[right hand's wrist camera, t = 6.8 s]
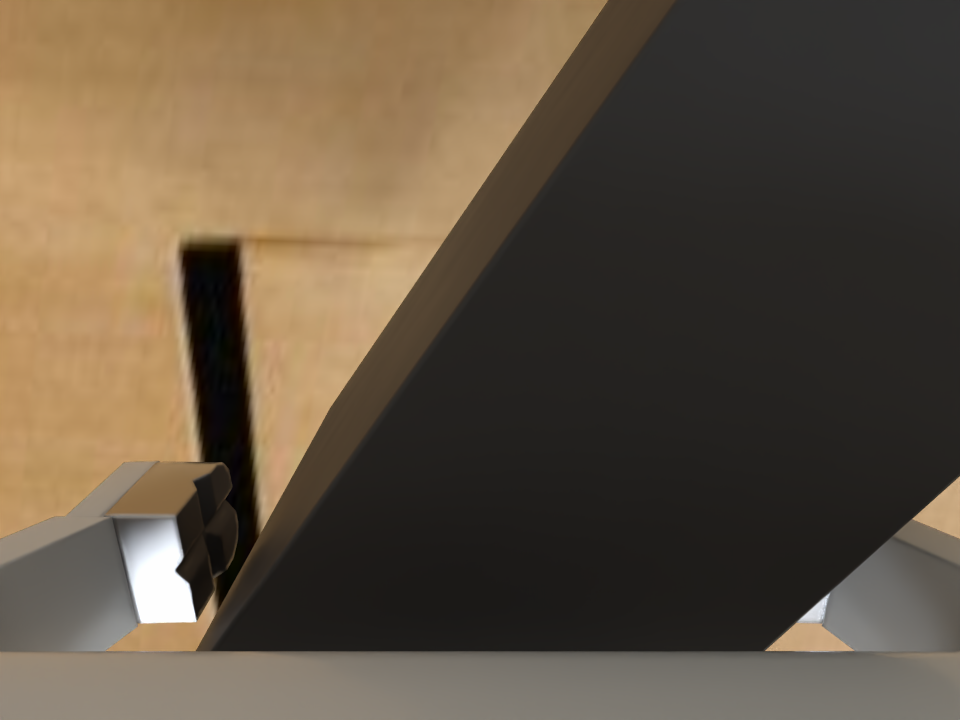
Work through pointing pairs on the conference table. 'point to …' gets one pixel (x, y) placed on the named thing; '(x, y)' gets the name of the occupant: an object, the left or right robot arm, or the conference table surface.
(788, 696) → the right robot arm
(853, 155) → the bar
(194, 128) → the conference table surface
